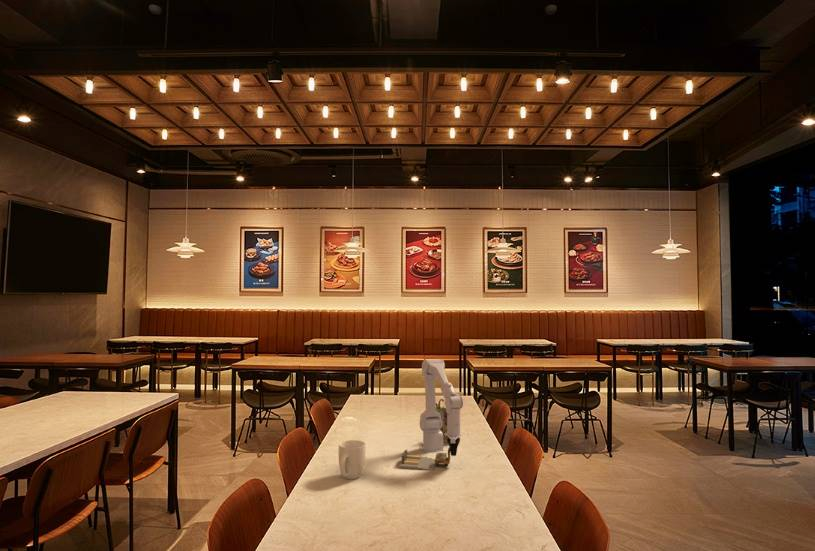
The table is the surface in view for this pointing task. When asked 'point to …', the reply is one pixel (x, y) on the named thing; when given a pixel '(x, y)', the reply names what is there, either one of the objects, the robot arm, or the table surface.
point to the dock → (416, 462)
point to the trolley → (442, 458)
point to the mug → (352, 458)
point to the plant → (439, 406)
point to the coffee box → (443, 423)
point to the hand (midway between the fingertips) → (453, 455)
